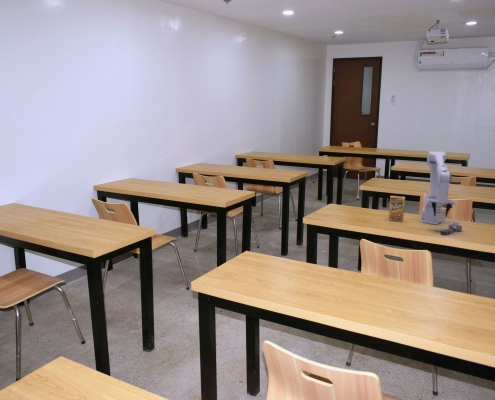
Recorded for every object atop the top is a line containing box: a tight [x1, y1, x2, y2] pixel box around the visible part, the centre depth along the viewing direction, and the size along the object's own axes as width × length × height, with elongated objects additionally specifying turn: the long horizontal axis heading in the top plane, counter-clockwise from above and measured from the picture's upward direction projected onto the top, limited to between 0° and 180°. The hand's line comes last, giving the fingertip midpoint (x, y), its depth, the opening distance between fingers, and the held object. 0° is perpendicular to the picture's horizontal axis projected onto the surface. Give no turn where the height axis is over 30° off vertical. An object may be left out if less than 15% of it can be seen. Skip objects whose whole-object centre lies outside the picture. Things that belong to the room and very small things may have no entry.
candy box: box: [387, 195, 406, 223], centre depth 273 cm, size 9×4×15 cm, turn 70°
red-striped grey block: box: [435, 208, 446, 222], centre depth 250 cm, size 5×5×6 cm
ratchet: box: [439, 220, 463, 237], centre depth 250 cm, size 7×19×5 cm, turn 132°
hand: (440, 216), depth 250 cm, fingers closed on red-striped grey block, 5 cm apart
